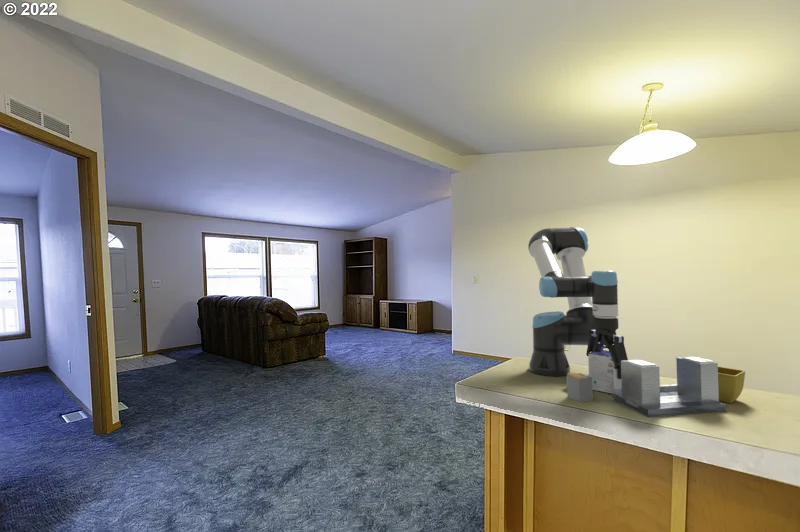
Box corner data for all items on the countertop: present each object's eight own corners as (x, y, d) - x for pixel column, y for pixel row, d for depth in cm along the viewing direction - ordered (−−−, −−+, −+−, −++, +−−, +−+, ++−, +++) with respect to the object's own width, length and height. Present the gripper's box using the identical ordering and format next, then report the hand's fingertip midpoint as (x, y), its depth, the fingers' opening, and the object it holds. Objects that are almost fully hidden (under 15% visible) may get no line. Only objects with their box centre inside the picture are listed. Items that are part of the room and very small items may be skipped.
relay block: (567, 396, 119) (567, 373, 119) (580, 395, 120) (579, 371, 121) (579, 402, 114) (578, 377, 114) (592, 400, 116) (591, 375, 116)
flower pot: (736, 407, 108) (735, 375, 108) (699, 398, 115) (698, 369, 115) (746, 400, 112) (745, 370, 113) (710, 393, 120) (709, 365, 120)
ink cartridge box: (626, 391, 122) (625, 347, 123) (621, 396, 118) (620, 350, 119) (594, 385, 129) (593, 343, 130) (588, 389, 126) (587, 346, 126)
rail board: (612, 399, 116) (611, 356, 116) (682, 394, 119) (680, 352, 119) (648, 417, 102) (646, 367, 102) (726, 411, 105) (724, 363, 105)
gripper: (574, 313, 135) (575, 374, 135) (619, 321, 112) (621, 395, 112) (593, 312, 136) (595, 373, 136) (642, 320, 113) (644, 393, 113)
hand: (607, 383), depth 124 cm, fingers closed on ink cartridge box, 10 cm apart
